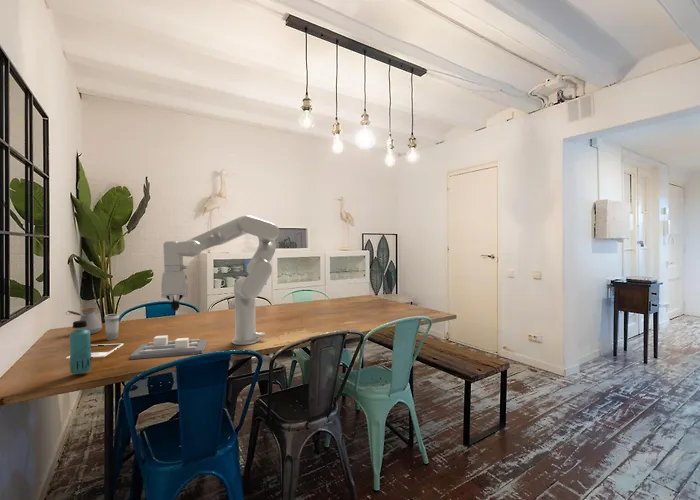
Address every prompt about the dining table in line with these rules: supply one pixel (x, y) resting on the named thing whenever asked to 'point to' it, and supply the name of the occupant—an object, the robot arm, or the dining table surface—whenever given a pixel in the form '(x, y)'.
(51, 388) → the dining table surface
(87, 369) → the beverage bottle
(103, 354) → the photo frame
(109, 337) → the cup
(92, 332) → the coffee pot
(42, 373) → the dining table surface
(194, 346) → the switch panel
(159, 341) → the switch tab
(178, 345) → the switch tab
